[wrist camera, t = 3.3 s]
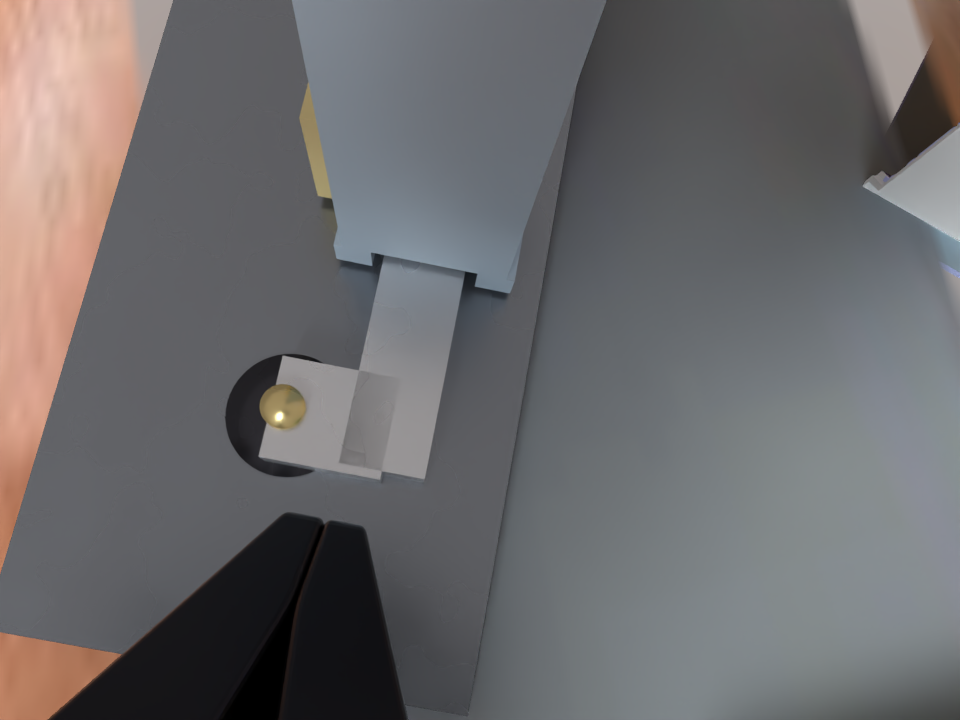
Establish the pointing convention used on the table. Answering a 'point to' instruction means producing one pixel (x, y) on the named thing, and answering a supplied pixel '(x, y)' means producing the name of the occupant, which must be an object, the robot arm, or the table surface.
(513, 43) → the gray rectangular block
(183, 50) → the flange plate
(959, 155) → the diorama
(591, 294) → the table surface
